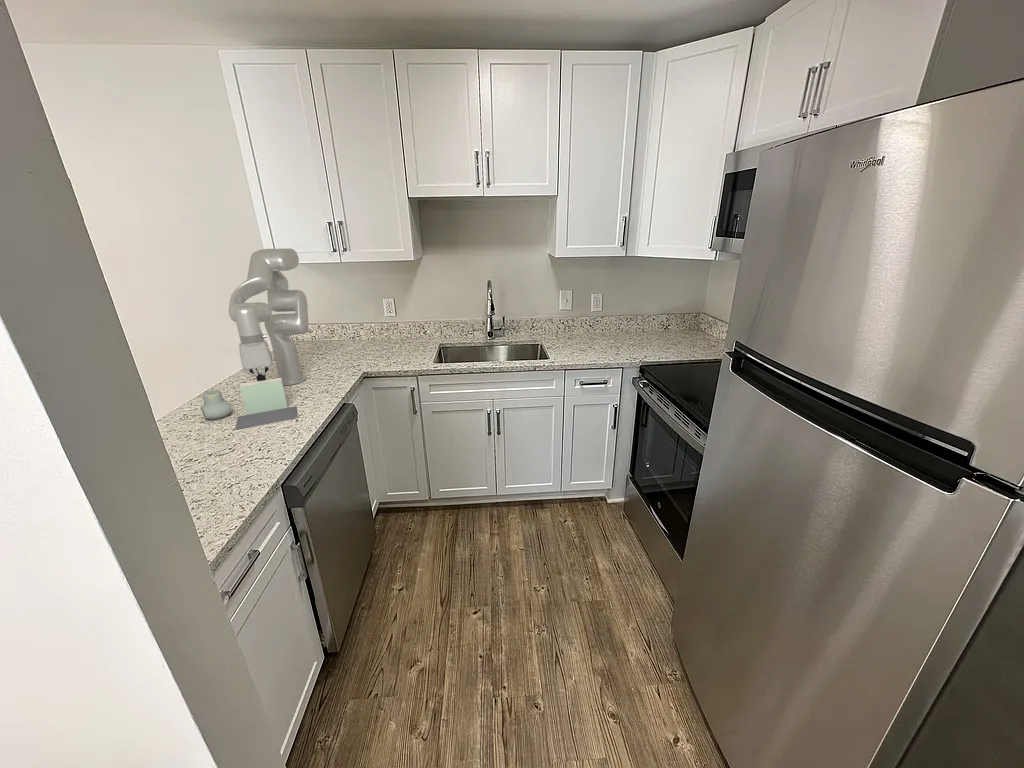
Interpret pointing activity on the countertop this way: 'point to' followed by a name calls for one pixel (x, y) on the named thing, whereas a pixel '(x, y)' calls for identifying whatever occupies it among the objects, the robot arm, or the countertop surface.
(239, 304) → the robot arm
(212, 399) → the air freshener
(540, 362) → the countertop surface
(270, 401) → the tile
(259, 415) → the mat
